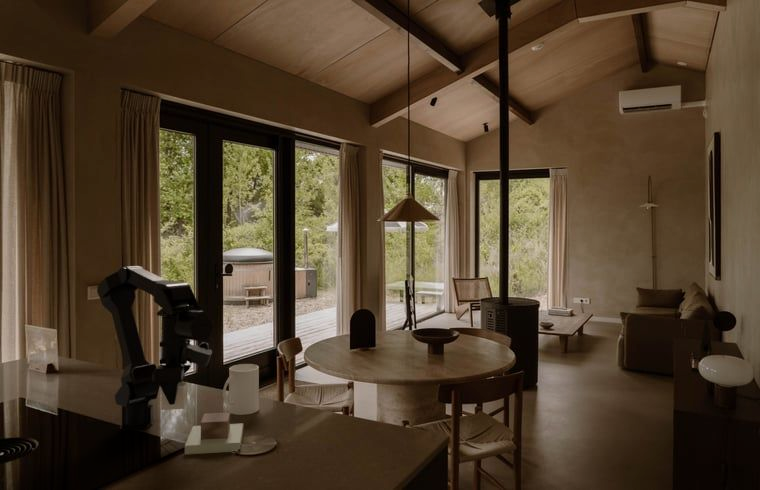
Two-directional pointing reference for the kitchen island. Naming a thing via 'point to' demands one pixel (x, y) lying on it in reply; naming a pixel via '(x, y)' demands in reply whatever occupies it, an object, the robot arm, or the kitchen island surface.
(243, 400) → the mug
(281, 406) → the kitchen island surface
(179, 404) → the ceramic cube
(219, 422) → the walnut block
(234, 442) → the base board
